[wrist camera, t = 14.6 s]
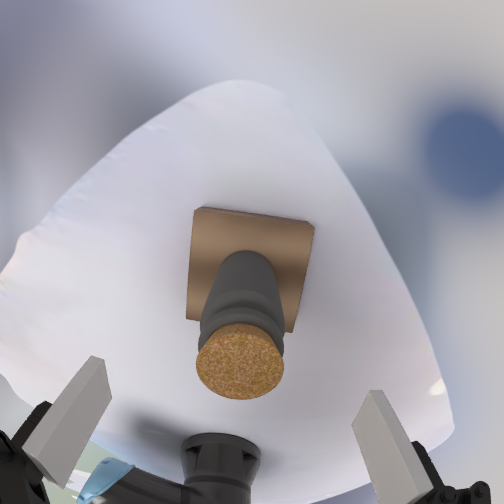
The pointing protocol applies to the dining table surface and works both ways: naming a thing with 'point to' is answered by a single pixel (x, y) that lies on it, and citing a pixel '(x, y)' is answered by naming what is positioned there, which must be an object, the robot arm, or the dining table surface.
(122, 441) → the dining table surface
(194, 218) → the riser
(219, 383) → the bottle
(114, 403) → the dining table surface
